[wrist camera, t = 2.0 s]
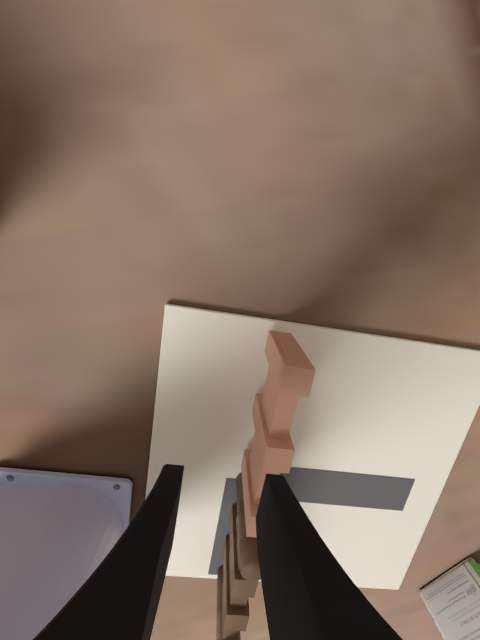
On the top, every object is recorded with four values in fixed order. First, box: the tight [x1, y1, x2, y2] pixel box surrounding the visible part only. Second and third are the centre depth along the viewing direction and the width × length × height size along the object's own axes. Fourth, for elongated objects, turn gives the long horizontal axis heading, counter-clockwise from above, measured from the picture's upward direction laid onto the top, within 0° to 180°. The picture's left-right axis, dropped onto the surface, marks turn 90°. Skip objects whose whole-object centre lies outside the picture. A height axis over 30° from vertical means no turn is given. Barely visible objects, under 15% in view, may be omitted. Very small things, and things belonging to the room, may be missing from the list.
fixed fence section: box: [216, 472, 261, 640], centre depth 20 cm, size 2×11×6 cm, turn 170°
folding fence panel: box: [241, 330, 316, 537], centre depth 17 cm, size 10×1×5 cm, turn 170°
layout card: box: [145, 303, 480, 590], centre depth 22 cm, size 22×22×1 cm
